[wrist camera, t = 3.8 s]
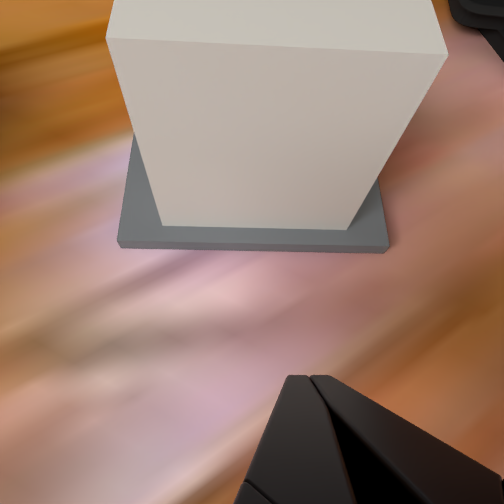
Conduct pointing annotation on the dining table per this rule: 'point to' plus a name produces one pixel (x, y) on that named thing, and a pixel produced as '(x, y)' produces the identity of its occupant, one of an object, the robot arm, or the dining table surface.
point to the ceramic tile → (270, 102)
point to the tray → (482, 19)
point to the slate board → (241, 239)
